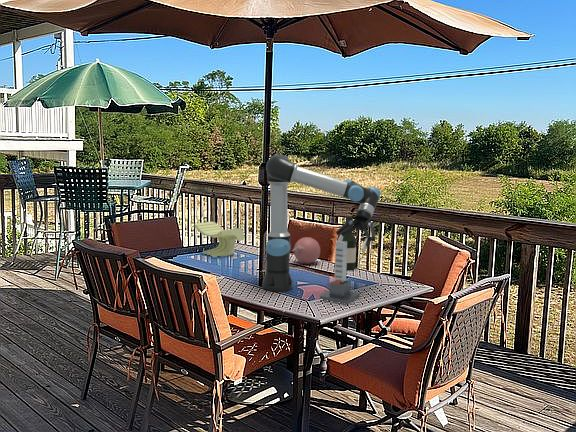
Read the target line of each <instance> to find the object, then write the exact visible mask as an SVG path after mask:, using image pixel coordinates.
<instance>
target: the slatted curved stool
mask: <svg viewBox="0 0 576 432" xmlns="http://www.w3.org/2000/svg"><path fill="white" fill-rule="evenodd" d="M194 229H196V230H197V231H198V232H199V233H201V235H202V236H207V237H210V238H215V239H216V238H217V241H218V245H217V247H214V248H212V249H208V250H202V253H205V254H207V255H211V256H213V257H212V258H214V257H215V258H218V257H217V256H221V257H226V256H227V257H228V256H233V254H234V252H235V248H236V247H235V246H236V242H237V241H238V242H239V241H244V240H245V239H244V236H245V235H244V234H245V232H244V230H243V229H242V228H241V227H240V228H229V229H223V228H222V227H221V226H220V225H219V224H218V223H217V222H215V221H205V222H196V223H194ZM207 255H206V256H207ZM211 256H210V257H211Z"/></svg>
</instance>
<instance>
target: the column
mask: <svg viewBox="0 0 576 432" xmlns="http://www.w3.org/2000/svg"><path fill="white" fill-rule="evenodd" d="M334 243H335V244H334V245H335V250H334V251H335V255H334V280H335V281H341V284H344V283H346V281H347V270H346V267H347V241H337V240H336V241H335V242H334Z"/></svg>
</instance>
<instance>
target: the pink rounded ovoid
mask: <svg viewBox="0 0 576 432" xmlns="http://www.w3.org/2000/svg"><path fill="white" fill-rule="evenodd" d="M291 252H292V253H293V254H294V257H295V259H296V260H297V261H298V262H300V263H301V264H306V265H310V264H313V263H314V262H315V263H316V261H317V260H318V258H319V257H320V255H321V246H320V244H319V242H318V241H317V240H316V239H314V238H312V237H309V236H305V237H302V238H300V239H298V240H297V241H296V242H295V244H294V247H293V249H292V250H291Z"/></svg>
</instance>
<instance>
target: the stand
mask: <svg viewBox="0 0 576 432" xmlns="http://www.w3.org/2000/svg"><path fill="white" fill-rule="evenodd" d="M351 283H352V282H351V280H346V283H344V284H341V281H335V279H333V280H332V281H330V282H329V290H328V291H326V292H323V294H320V295H319V300H320V299H323V300H328V301H333V302H340V303H345V304H348V303H350V302H351V303H353V302H355V301H356V300H357V298H358V299H359V297H361V293H360V292H355V291H351V286H352V285H351ZM355 299H356V300H355ZM354 300H355V301H354ZM328 301H327V302H328ZM352 301H353V302H352ZM333 302H332V303H333ZM351 303H350V304H351ZM348 305H349V304H348Z"/></svg>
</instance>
